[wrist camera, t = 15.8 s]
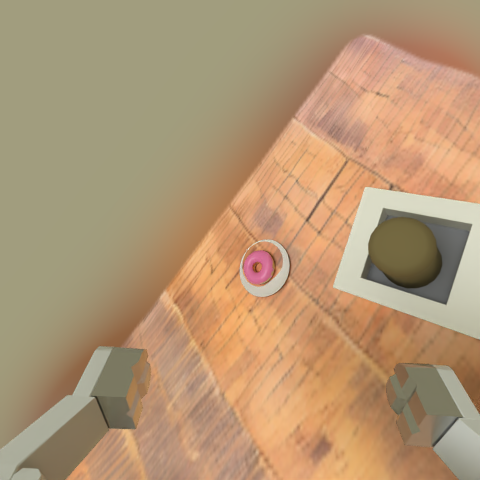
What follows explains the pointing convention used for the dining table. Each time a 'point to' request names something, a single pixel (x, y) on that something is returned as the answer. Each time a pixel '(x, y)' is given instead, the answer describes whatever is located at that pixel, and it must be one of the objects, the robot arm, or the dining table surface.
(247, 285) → the donut
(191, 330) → the dining table surface
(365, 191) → the socket rail
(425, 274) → the olive knobbed peg
